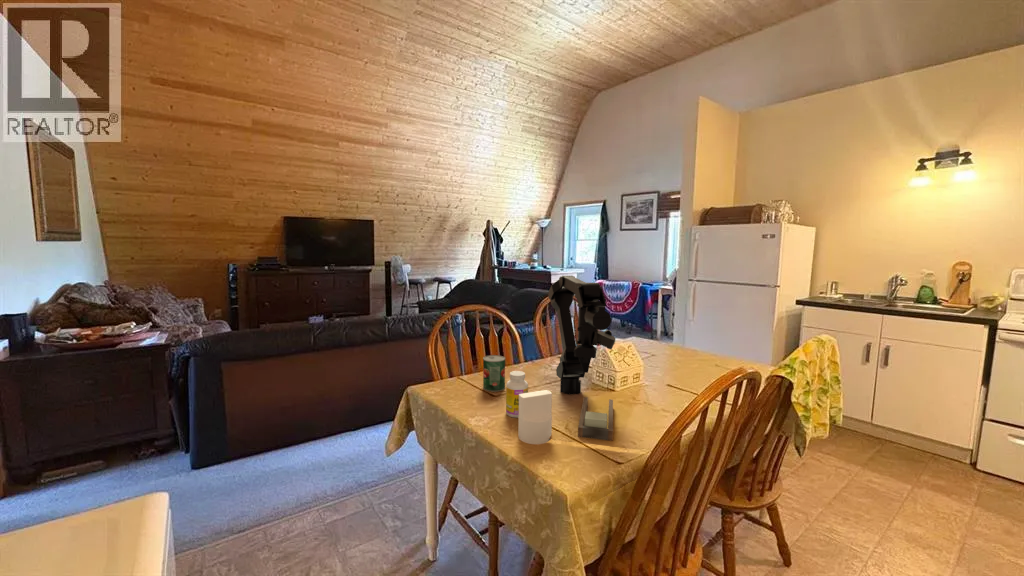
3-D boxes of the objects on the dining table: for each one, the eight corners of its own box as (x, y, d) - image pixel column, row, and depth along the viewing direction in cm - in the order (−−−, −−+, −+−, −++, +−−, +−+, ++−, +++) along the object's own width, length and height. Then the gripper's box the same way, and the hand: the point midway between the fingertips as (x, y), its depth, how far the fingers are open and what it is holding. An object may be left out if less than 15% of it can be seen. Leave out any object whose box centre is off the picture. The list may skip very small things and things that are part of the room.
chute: (577, 439, 112) (578, 427, 111) (583, 407, 133) (583, 396, 133) (612, 443, 110) (612, 431, 109) (612, 410, 131) (612, 399, 131)
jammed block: (584, 434, 113) (584, 418, 112) (585, 426, 118) (585, 411, 117) (606, 436, 112) (606, 420, 111) (606, 429, 116) (607, 413, 116)
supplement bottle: (512, 420, 124) (512, 378, 122) (502, 411, 129) (502, 371, 128) (531, 415, 127) (532, 374, 125) (521, 408, 132) (521, 368, 131)
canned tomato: (509, 389, 149) (509, 359, 148) (490, 393, 145) (490, 362, 144) (497, 382, 156) (497, 353, 154) (479, 386, 151) (479, 357, 150)
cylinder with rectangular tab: (527, 447, 108) (527, 402, 106) (513, 432, 116) (513, 390, 114) (557, 440, 111) (558, 397, 110) (541, 426, 119) (542, 386, 118)
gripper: (614, 331, 118) (612, 384, 120) (614, 319, 136) (612, 365, 138) (574, 328, 120) (573, 381, 122) (579, 317, 138) (578, 363, 140)
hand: (586, 372), depth 131 cm, fingers closed
